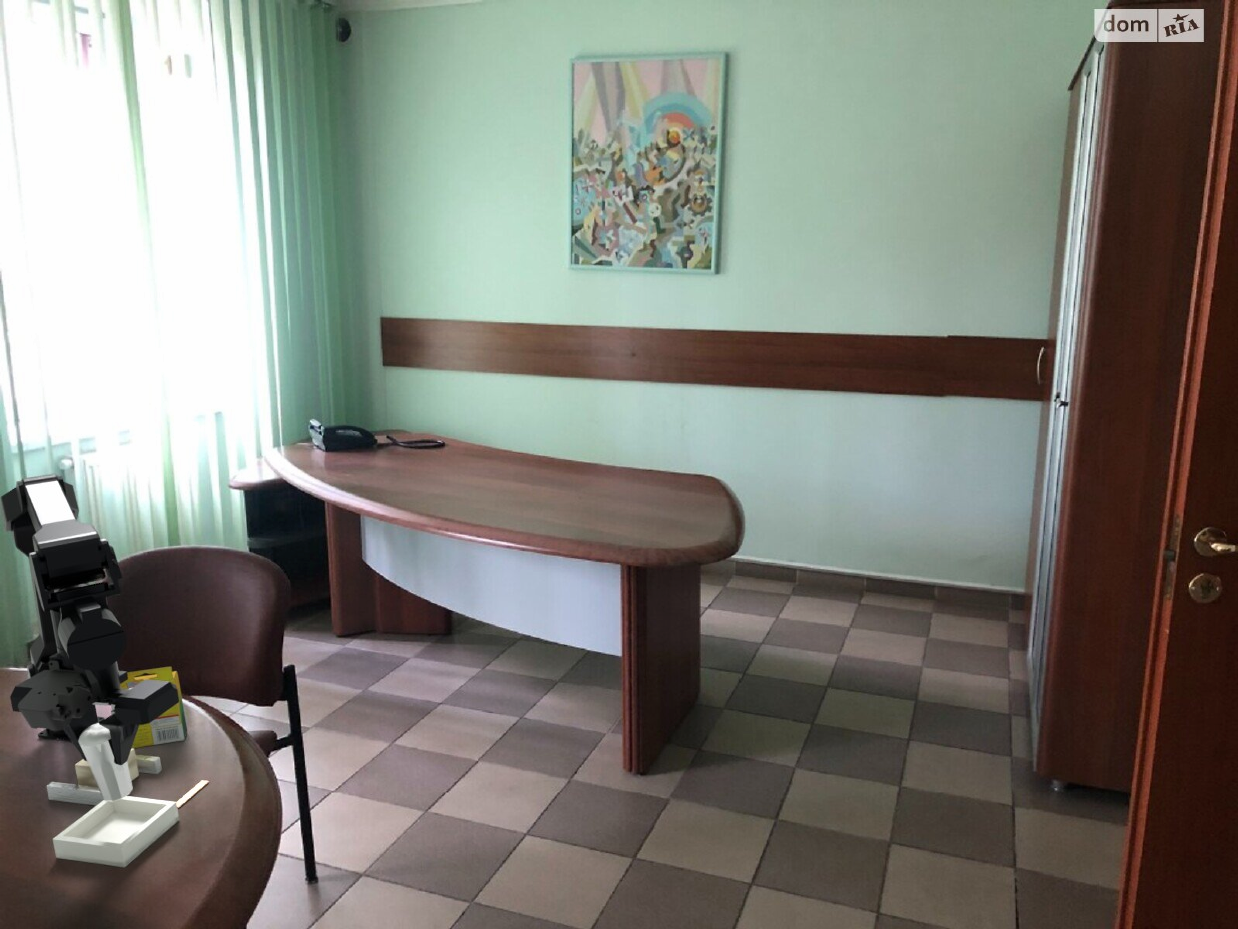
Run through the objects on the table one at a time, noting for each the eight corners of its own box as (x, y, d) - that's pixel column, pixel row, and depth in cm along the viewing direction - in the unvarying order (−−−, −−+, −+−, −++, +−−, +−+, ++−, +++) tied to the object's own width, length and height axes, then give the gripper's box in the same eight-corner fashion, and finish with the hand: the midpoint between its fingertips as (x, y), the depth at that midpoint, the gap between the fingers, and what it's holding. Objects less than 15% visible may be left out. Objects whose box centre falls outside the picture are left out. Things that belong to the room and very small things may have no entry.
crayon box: (188, 731, 143) (177, 658, 140) (184, 741, 140) (173, 667, 138) (133, 739, 141) (121, 665, 139) (129, 749, 139) (116, 674, 136)
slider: (79, 792, 128) (72, 754, 126) (107, 772, 132) (101, 735, 131) (111, 796, 126) (105, 758, 125) (138, 775, 131) (132, 738, 130)
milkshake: (127, 805, 114) (104, 728, 111) (88, 806, 115) (64, 730, 112) (152, 783, 118) (130, 708, 116) (115, 784, 119) (92, 710, 117)
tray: (56, 857, 114) (52, 839, 114) (114, 811, 123) (111, 794, 123) (124, 867, 112) (121, 848, 111) (179, 819, 121) (176, 802, 120)
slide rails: (49, 799, 127) (46, 786, 126) (100, 763, 135) (97, 750, 135) (171, 815, 122) (168, 800, 122) (215, 776, 131) (214, 763, 130)
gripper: (-43, 664, 106) (-16, 790, 110) (101, 677, 102) (124, 809, 106) (38, 624, 117) (60, 741, 120) (172, 634, 112) (190, 756, 116)
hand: (106, 761), depth 115 cm, fingers closed on milkshake, 4 cm apart
